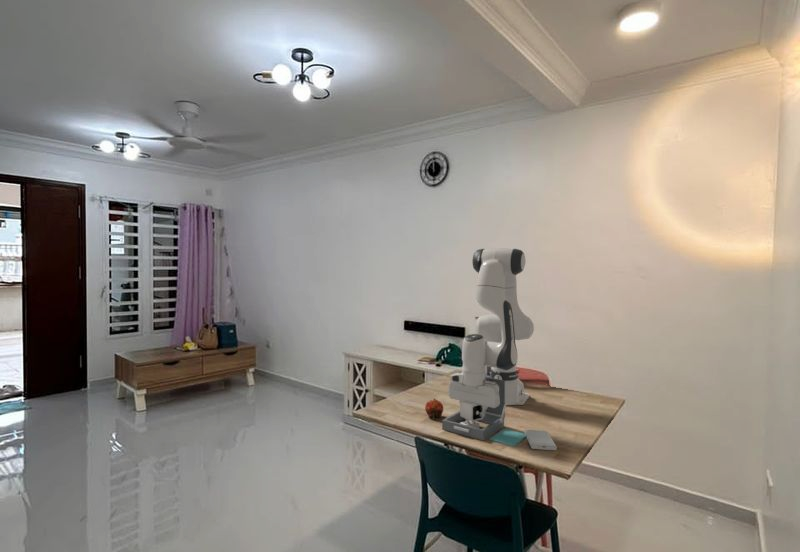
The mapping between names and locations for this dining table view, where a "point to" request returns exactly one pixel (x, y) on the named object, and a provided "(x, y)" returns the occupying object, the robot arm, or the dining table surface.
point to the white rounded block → (470, 413)
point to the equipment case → (491, 417)
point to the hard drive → (540, 440)
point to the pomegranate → (434, 408)
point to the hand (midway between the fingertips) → (473, 414)
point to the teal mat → (508, 437)
